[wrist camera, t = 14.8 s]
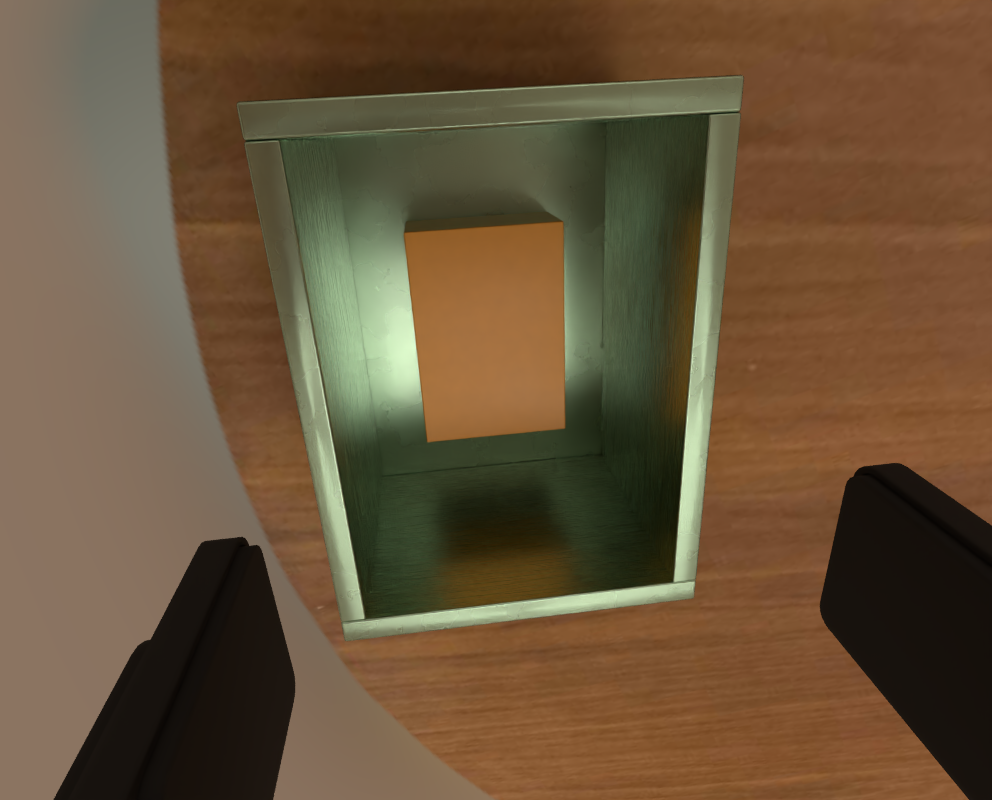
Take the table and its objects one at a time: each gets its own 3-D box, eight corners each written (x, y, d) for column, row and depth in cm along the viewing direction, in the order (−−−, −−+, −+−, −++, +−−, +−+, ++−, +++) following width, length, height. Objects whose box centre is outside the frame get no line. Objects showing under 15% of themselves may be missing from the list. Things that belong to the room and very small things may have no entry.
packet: (405, 221, 23) (403, 232, 21) (547, 211, 24) (564, 220, 21) (426, 411, 26) (426, 442, 24) (551, 399, 27) (565, 429, 24)
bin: (308, 115, 22) (234, 101, 13) (623, 98, 23) (745, 74, 14) (368, 487, 28) (344, 642, 20) (613, 461, 29) (694, 599, 20)
